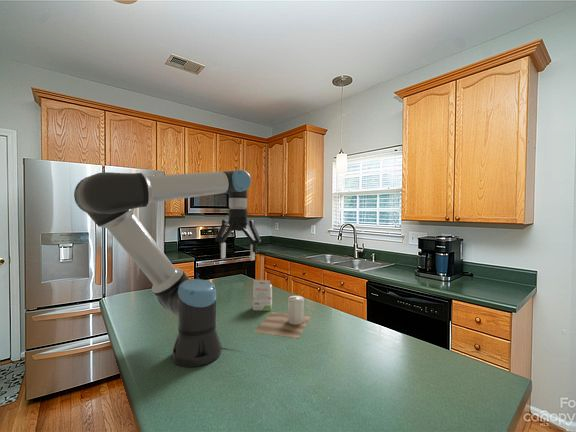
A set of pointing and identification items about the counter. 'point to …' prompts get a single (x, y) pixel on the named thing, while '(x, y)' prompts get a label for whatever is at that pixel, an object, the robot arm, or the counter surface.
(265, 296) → the ink box
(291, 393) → the counter surface
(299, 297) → the lidded container
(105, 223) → the robot arm
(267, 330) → the board
